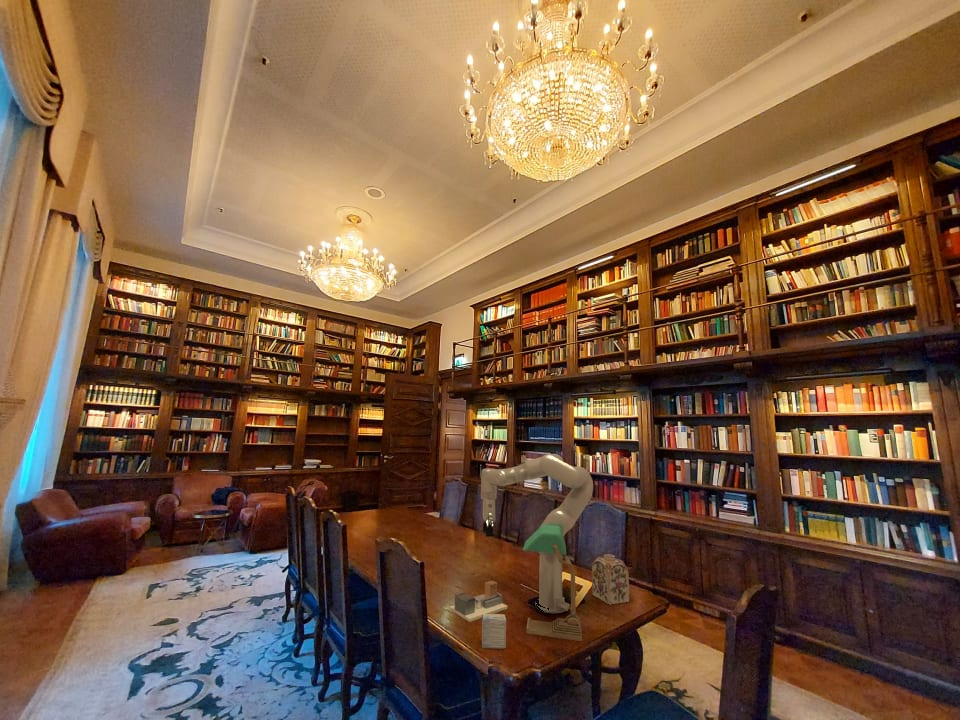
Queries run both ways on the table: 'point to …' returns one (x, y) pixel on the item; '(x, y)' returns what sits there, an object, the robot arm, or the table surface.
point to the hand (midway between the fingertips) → (487, 533)
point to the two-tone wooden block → (486, 594)
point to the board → (484, 609)
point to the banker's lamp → (570, 628)
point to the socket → (464, 604)
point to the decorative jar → (610, 580)
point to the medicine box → (493, 631)
